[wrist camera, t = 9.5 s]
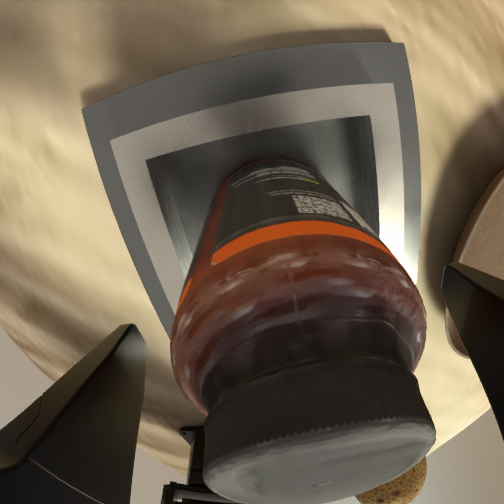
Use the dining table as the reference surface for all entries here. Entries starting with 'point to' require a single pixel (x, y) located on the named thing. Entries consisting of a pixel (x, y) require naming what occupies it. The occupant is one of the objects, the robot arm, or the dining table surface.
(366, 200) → the grey square tray
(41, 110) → the dining table surface
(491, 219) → the plant saucer
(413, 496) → the natural sponge
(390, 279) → the supplement bottle
